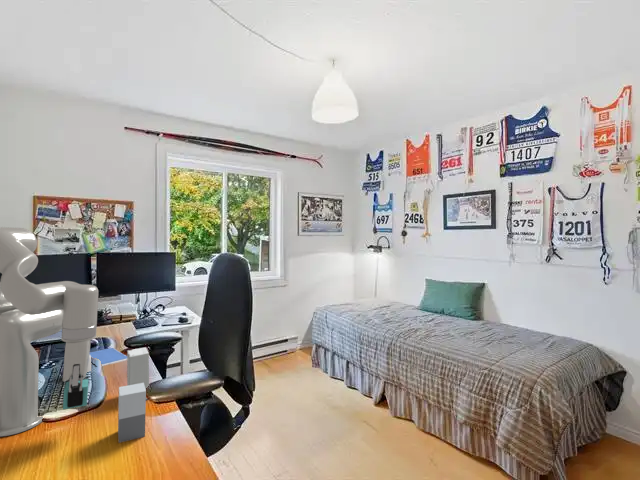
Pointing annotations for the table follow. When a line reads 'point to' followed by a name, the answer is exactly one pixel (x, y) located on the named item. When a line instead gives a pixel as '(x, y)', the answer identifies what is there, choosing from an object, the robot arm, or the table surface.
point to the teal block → (85, 394)
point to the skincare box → (138, 367)
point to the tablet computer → (109, 356)
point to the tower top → (132, 400)
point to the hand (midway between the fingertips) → (75, 400)
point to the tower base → (131, 428)
